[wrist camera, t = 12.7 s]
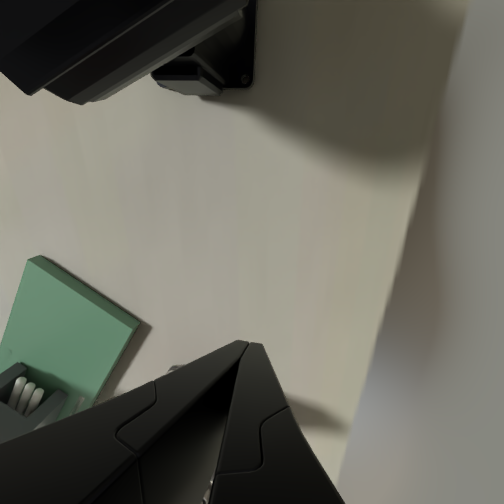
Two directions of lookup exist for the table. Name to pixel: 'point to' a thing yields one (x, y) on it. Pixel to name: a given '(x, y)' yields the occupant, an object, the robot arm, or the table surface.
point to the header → (24, 397)
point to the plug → (13, 423)
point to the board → (64, 335)
